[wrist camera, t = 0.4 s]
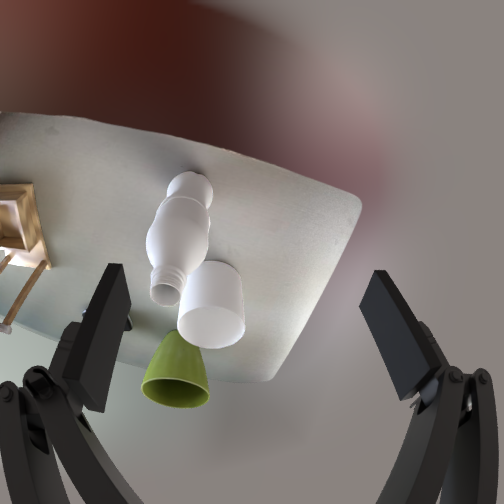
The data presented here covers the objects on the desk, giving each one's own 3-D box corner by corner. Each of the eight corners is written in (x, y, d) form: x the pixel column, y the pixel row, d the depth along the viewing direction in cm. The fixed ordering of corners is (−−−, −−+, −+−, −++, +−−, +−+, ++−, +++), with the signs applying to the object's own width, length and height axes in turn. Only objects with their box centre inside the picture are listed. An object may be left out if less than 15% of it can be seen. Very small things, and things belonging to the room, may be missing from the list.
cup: (192, 307, 60) (188, 351, 50) (176, 265, 53) (167, 310, 43) (245, 299, 60) (250, 344, 50) (236, 255, 53) (239, 300, 43)
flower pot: (140, 338, 65) (130, 393, 52) (170, 309, 60) (161, 370, 47) (188, 361, 72) (185, 413, 59) (222, 336, 67) (223, 394, 54)
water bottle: (220, 175, 44) (215, 277, 24) (205, 212, 48) (193, 328, 27) (177, 161, 42) (133, 252, 21) (165, 200, 45) (123, 310, 25)
